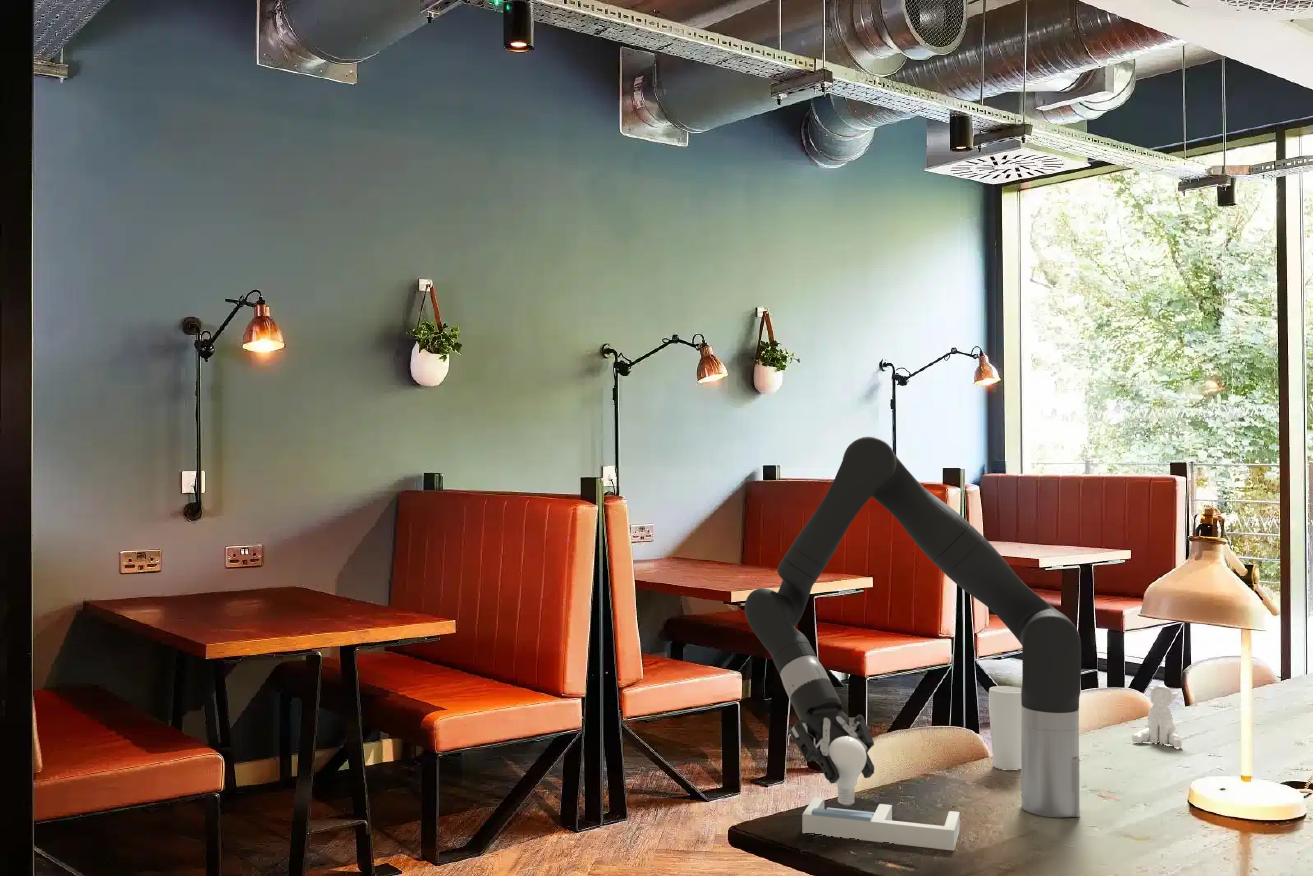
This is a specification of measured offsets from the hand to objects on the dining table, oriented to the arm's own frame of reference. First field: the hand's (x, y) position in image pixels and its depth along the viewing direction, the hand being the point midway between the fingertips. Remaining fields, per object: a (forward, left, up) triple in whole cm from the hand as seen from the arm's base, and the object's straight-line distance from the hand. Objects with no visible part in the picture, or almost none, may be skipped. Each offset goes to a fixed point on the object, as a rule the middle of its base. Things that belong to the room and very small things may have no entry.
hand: (853, 777), depth 183 cm
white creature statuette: (-50, -79, -8) cm, 94 cm away
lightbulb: (+1, -1, -5) cm, 5 cm away
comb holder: (-4, -2, -8) cm, 9 cm away
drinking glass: (-21, -47, -8) cm, 52 cm away
